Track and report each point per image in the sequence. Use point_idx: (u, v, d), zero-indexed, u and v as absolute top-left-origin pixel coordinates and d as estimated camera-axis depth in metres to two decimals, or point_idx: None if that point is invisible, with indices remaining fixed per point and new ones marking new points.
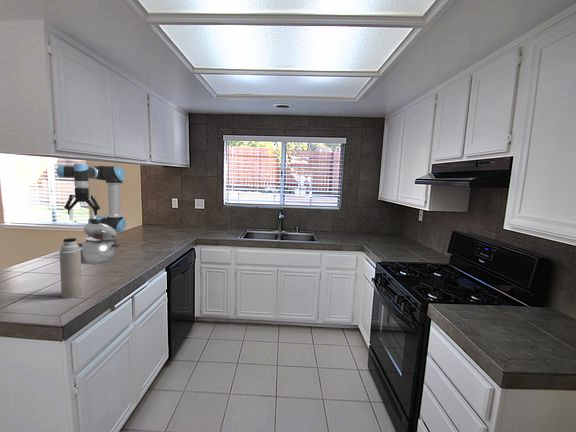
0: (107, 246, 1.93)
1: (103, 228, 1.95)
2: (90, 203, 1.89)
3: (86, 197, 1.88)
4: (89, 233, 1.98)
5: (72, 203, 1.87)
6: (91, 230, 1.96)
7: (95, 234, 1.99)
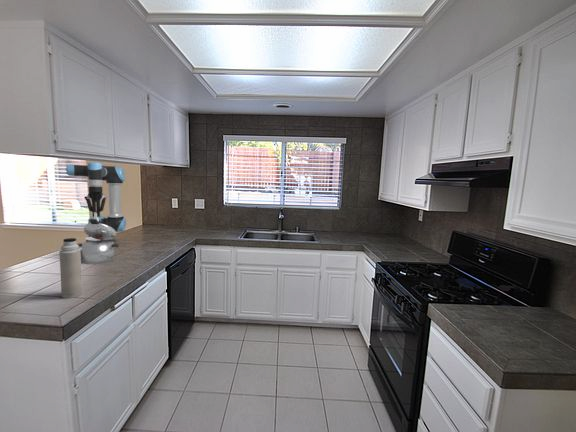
0: (107, 246, 1.93)
1: (103, 228, 1.95)
2: (98, 204, 1.91)
3: (99, 195, 1.90)
4: (89, 233, 1.98)
5: (92, 204, 1.90)
6: (91, 230, 1.96)
7: (95, 234, 1.99)
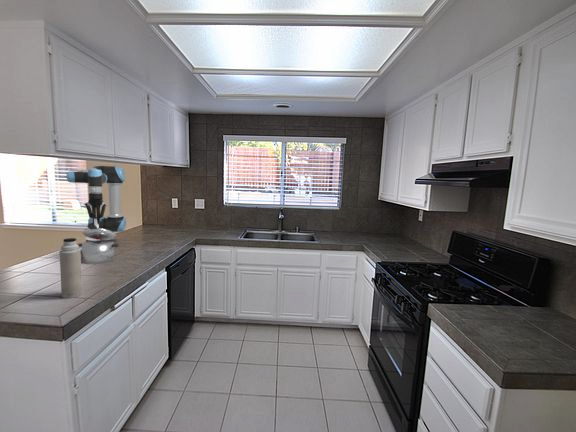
0: (107, 246, 1.93)
1: (102, 232, 1.93)
2: (98, 210, 1.91)
3: (99, 202, 1.91)
4: (89, 235, 1.97)
5: (92, 211, 1.90)
6: (90, 233, 1.94)
7: (94, 236, 1.99)
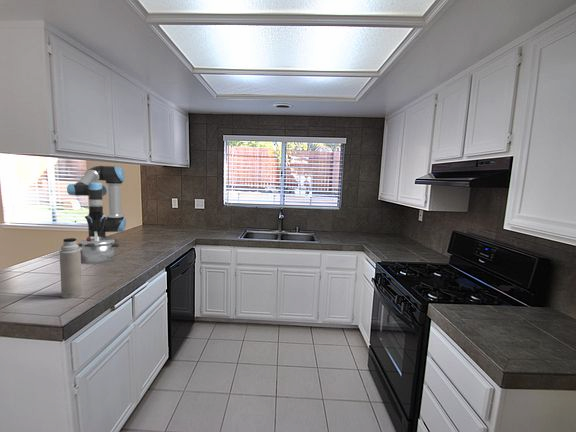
0: (107, 246, 1.93)
1: None
2: (99, 223, 1.92)
3: (100, 215, 1.92)
4: None
5: (92, 224, 1.91)
6: None
7: None
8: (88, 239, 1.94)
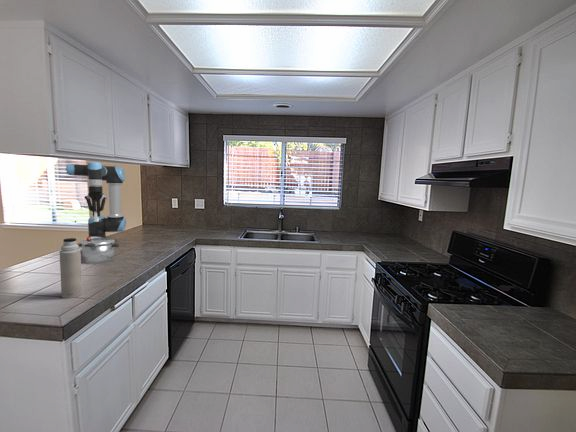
0: (107, 246, 1.93)
1: None
2: (98, 204, 1.91)
3: (99, 195, 1.90)
4: None
5: (92, 204, 1.90)
6: None
7: None
8: (88, 239, 1.94)
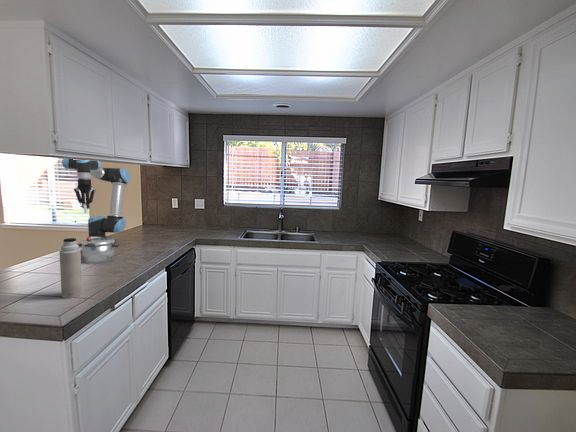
0: (107, 246, 1.93)
1: None
2: (87, 196, 1.98)
3: (88, 188, 1.97)
4: None
5: (81, 196, 1.97)
6: None
7: None
8: (88, 239, 1.94)
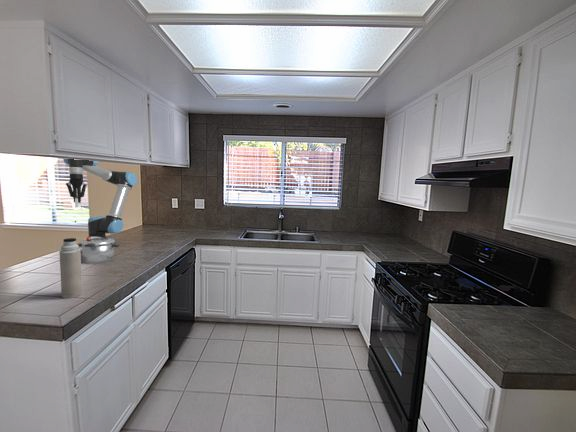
0: (107, 246, 1.93)
1: None
2: (79, 190, 2.02)
3: (80, 182, 2.02)
4: None
5: (73, 190, 2.01)
6: None
7: None
8: (88, 239, 1.94)
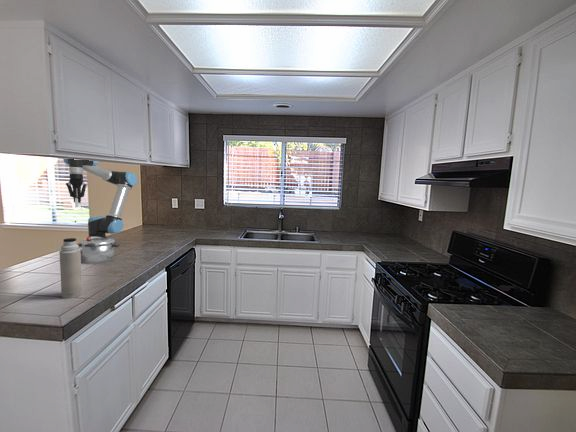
0: (107, 246, 1.93)
1: None
2: (79, 190, 2.02)
3: (80, 182, 2.02)
4: None
5: (73, 190, 2.01)
6: None
7: None
8: (88, 239, 1.94)
